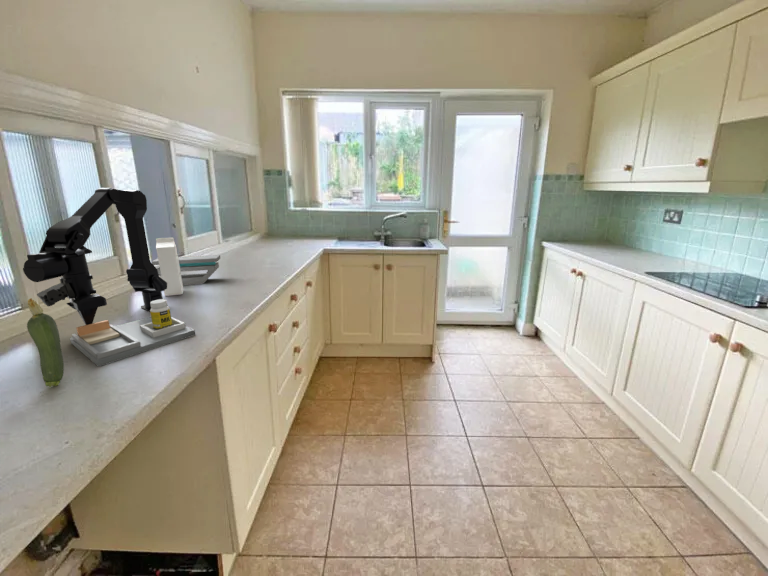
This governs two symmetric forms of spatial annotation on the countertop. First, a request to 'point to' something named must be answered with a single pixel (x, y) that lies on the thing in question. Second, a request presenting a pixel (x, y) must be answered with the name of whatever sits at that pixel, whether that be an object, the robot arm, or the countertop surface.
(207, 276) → the grey heavy duty stapler
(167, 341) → the grey divided tray
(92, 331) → the lid
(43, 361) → the vegetable
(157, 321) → the supplement bottle
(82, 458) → the countertop surface
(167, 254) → the milk
